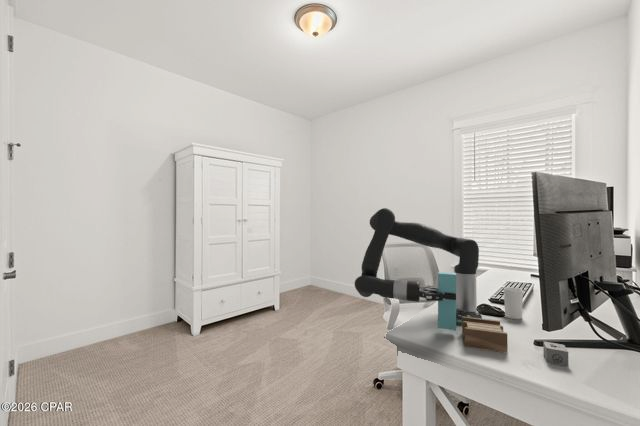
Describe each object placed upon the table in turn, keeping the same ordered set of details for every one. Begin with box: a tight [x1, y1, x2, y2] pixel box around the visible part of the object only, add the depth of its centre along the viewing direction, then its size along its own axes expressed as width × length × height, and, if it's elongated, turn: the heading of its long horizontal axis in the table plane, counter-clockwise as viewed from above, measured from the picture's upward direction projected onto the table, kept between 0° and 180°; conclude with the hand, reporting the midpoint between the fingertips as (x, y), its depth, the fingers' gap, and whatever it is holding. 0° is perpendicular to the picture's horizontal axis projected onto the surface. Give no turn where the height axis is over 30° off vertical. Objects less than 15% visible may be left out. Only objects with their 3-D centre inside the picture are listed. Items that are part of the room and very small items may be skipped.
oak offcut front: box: [467, 325, 504, 332], centre depth 95 cm, size 2×10×6 cm, turn 68°
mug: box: [503, 286, 524, 320], centre depth 126 cm, size 10×7×12 cm, turn 170°
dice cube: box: [542, 340, 570, 369], centre depth 86 cm, size 5×5×5 cm
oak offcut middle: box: [467, 323, 501, 329], centre depth 97 cm, size 2×10×6 cm, turn 68°
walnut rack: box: [461, 316, 509, 354], centre depth 98 cm, size 12×12×7 cm
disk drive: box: [456, 310, 483, 327], centre depth 118 cm, size 10×3×15 cm
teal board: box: [437, 271, 457, 331], centre depth 105 cm, size 3×6×20 cm, turn 68°
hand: (455, 295), depth 104 cm, fingers closed on teal board, 3 cm apart
